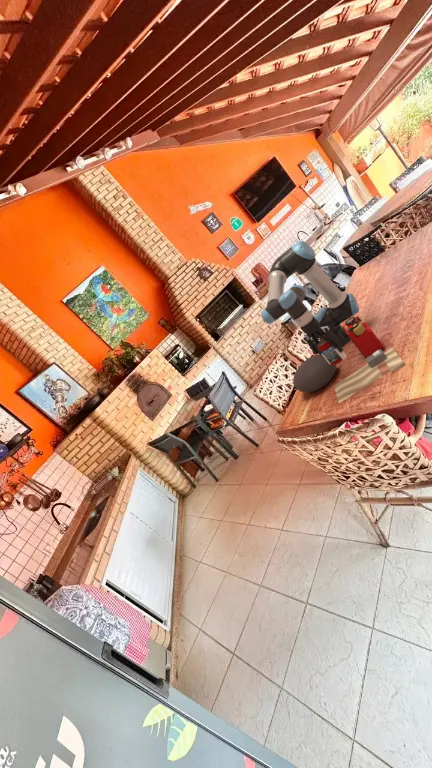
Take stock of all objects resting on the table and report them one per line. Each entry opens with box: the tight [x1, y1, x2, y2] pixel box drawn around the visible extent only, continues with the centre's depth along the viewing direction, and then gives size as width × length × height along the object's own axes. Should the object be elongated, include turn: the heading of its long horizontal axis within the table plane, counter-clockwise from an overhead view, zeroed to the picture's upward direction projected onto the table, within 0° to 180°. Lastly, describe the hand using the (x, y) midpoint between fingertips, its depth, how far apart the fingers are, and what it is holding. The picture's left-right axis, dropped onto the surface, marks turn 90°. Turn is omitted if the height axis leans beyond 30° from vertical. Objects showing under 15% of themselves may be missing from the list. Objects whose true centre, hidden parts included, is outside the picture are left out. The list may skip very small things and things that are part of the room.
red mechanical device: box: [342, 315, 385, 360], centre depth 190 cm, size 16×10×20 cm, turn 168°
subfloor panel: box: [333, 347, 406, 404], centre depth 177 cm, size 18×32×1 cm, turn 77°
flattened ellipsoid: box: [292, 354, 337, 393], centre depth 203 cm, size 25×25×15 cm
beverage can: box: [317, 339, 344, 366], centre depth 170 cm, size 7×7×12 cm
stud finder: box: [365, 349, 387, 368], centre depth 178 cm, size 5×8×4 cm, turn 77°
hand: (338, 360), depth 171 cm, fingers closed on beverage can, 7 cm apart
